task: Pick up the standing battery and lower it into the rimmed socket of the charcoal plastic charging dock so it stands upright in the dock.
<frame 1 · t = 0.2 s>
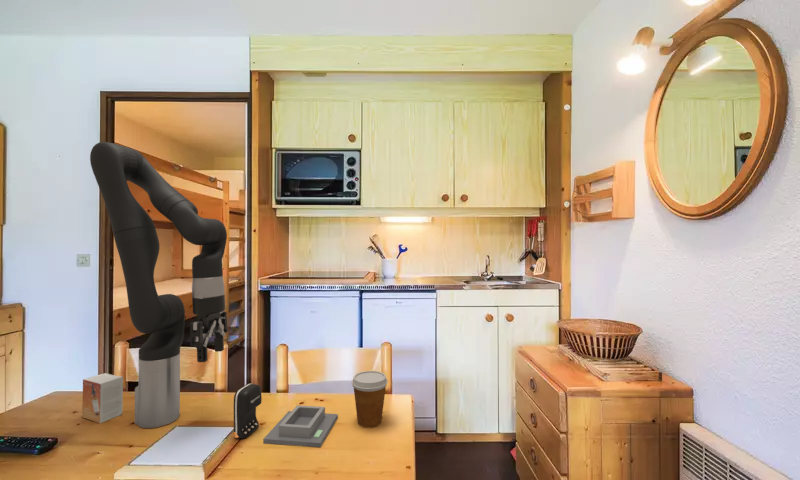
hand: (211, 356, 93), 18 cm above the table, tool pointing down, fingers open, 8 cm apart
dock: (303, 429, 91), on the table
disposable coffee cup: (369, 422, 95), on the table
small box: (102, 417, 98), on the table
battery: (248, 433, 89), on the table
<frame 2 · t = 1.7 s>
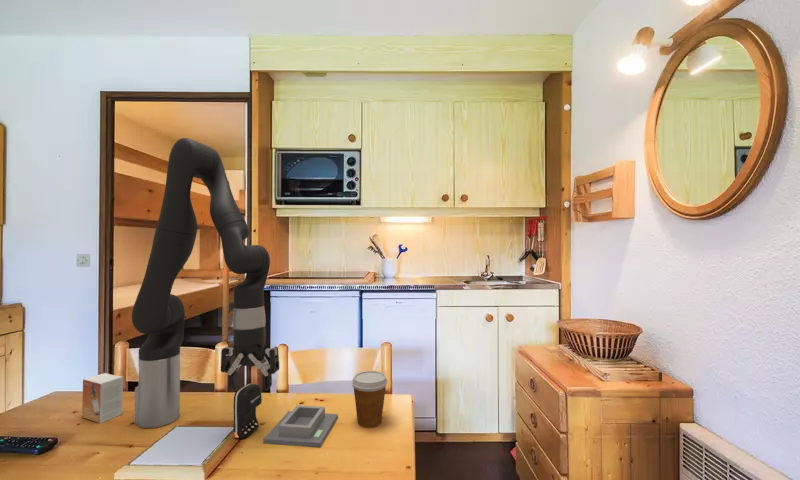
hand: (250, 389, 90), 11 cm above the table, tool pointing down, fingers open, 8 cm apart
nothing on the table moved.
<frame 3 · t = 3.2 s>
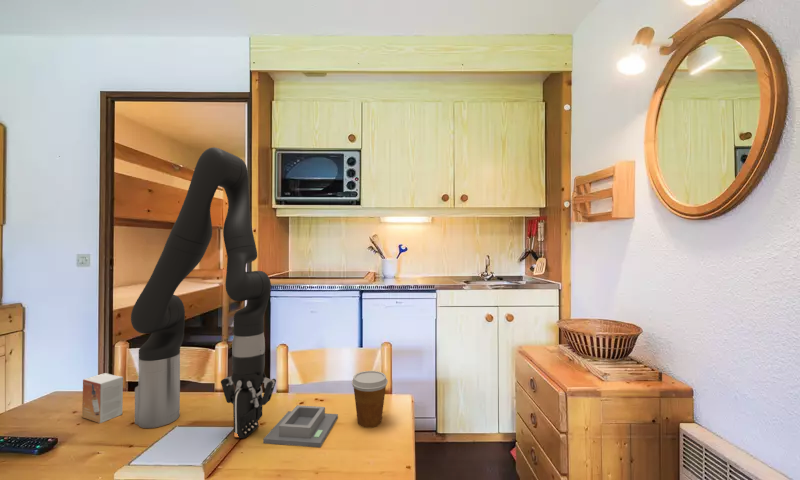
hand: (248, 419, 89), 3 cm above the table, tool pointing down, fingers closed on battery, 4 cm apart
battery: (248, 433, 89), on the table, touching gripper
everything else where it was.
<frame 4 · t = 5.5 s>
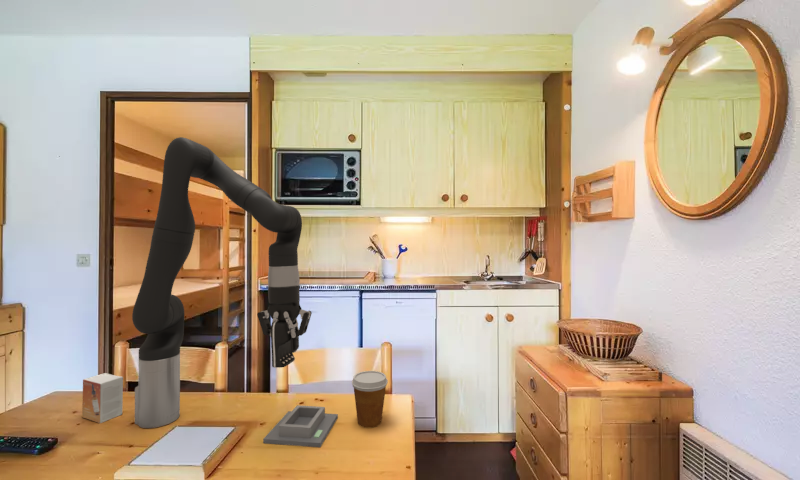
hand: (285, 351, 90), 20 cm above the table, tool pointing down, fingers closed on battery, 4 cm apart
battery: (285, 365, 90), point 17 cm above the table, touching gripper
everything else where it was.
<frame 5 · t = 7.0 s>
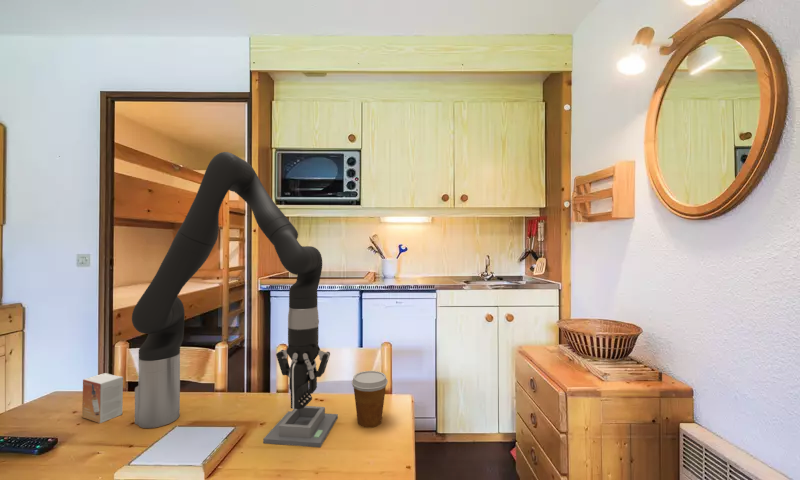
hand: (303, 391, 91), 10 cm above the table, tool pointing down, fingers closed on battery, 4 cm apart
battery: (303, 405, 91), point 6 cm above the table, touching gripper
everything else where it was.
when the fingers open (6 cm above the table, at t = 8.2 s): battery drops 1 cm, resting on dock.
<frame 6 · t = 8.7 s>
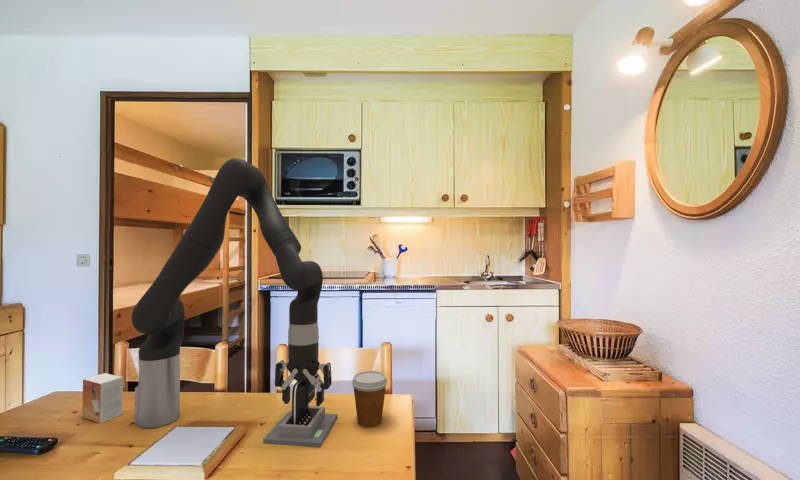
hand: (303, 403, 91), 7 cm above the table, tool pointing down, fingers open, 8 cm apart
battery: (303, 426, 91), point 1 cm above the table, touching dock
everything else where it was.
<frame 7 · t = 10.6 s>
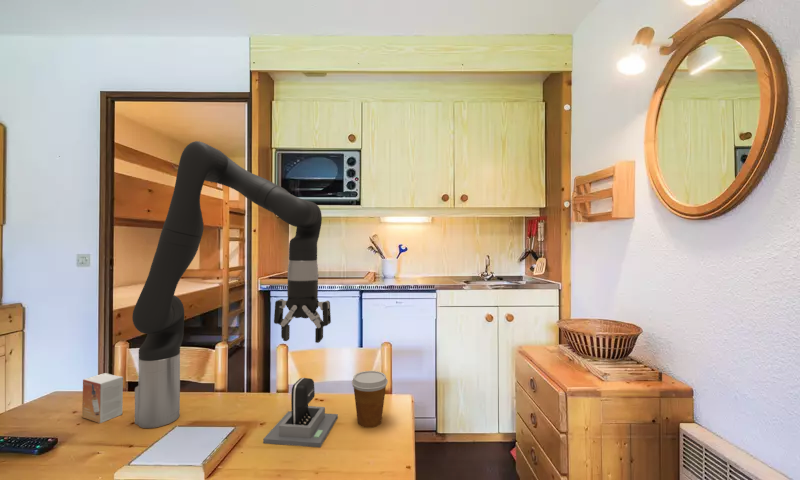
hand: (302, 341, 91), 22 cm above the table, tool pointing down, fingers open, 8 cm apart
nothing on the table moved.
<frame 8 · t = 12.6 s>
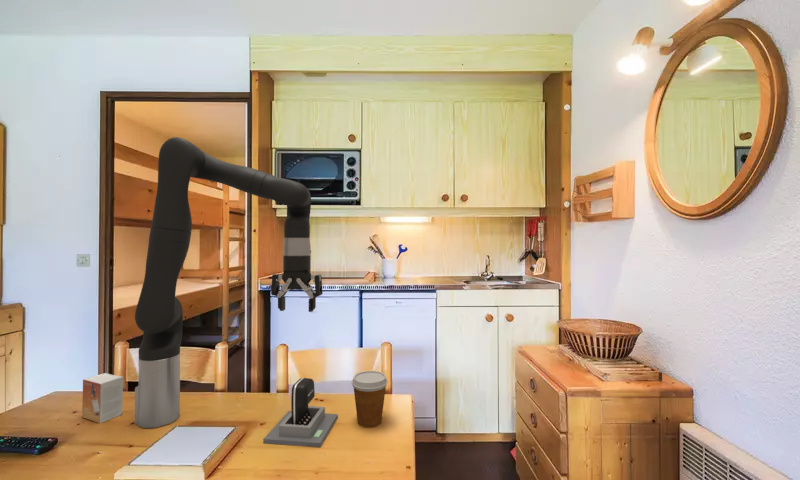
hand: (296, 310, 102), 28 cm above the table, tool pointing down, fingers open, 8 cm apart
nothing on the table moved.
at the end: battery 0.2 cm off-centre on the dock, point 0.8 cm above the dock's base; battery tilted 0°; the gripper is holding nothing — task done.
